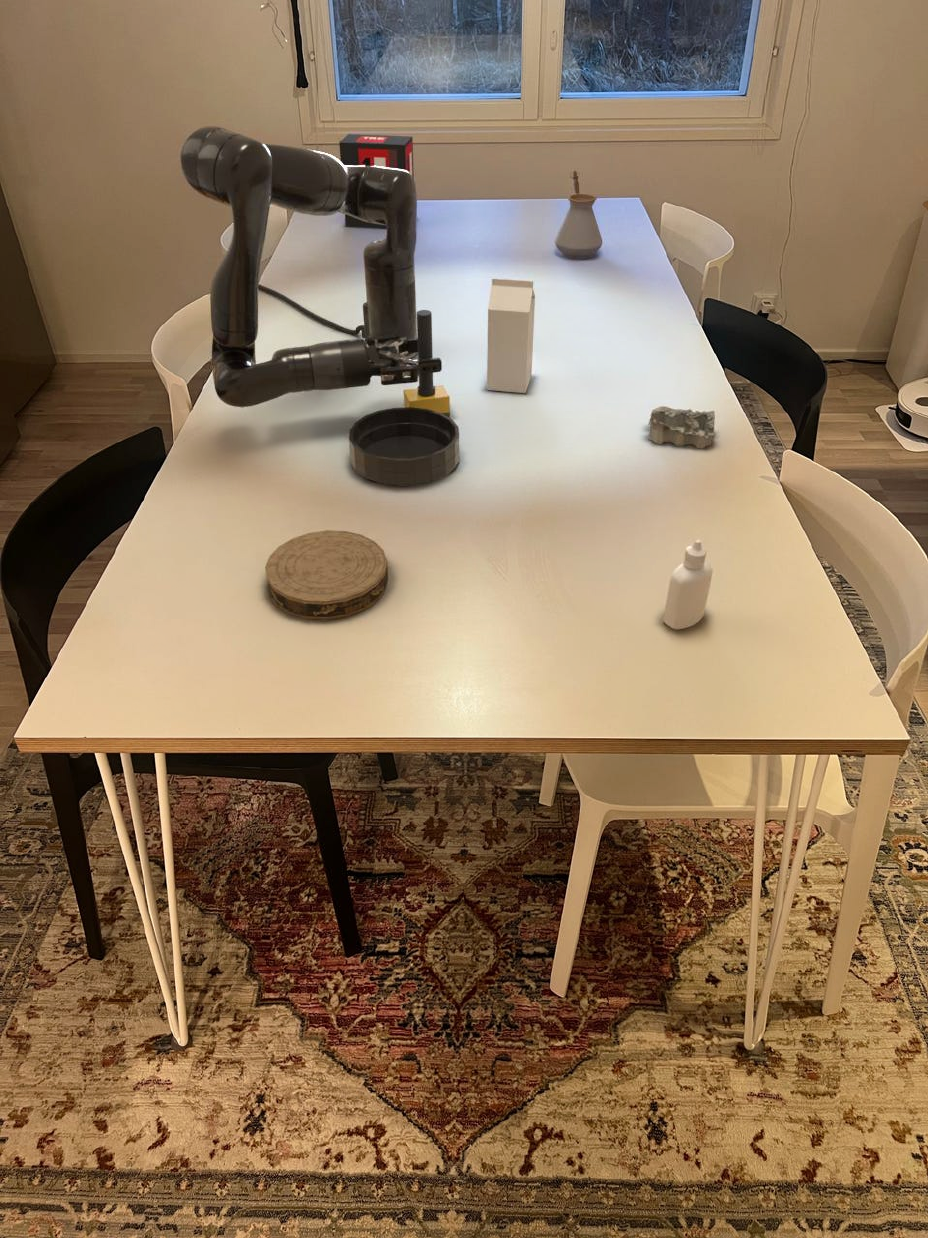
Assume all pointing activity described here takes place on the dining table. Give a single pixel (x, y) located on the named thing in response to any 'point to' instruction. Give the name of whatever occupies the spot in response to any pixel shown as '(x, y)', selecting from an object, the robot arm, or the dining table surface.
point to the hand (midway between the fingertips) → (434, 353)
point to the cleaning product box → (376, 159)
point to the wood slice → (327, 574)
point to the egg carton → (681, 426)
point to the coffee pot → (579, 227)
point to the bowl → (404, 446)
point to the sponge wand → (426, 392)
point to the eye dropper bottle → (688, 589)
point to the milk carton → (510, 335)
